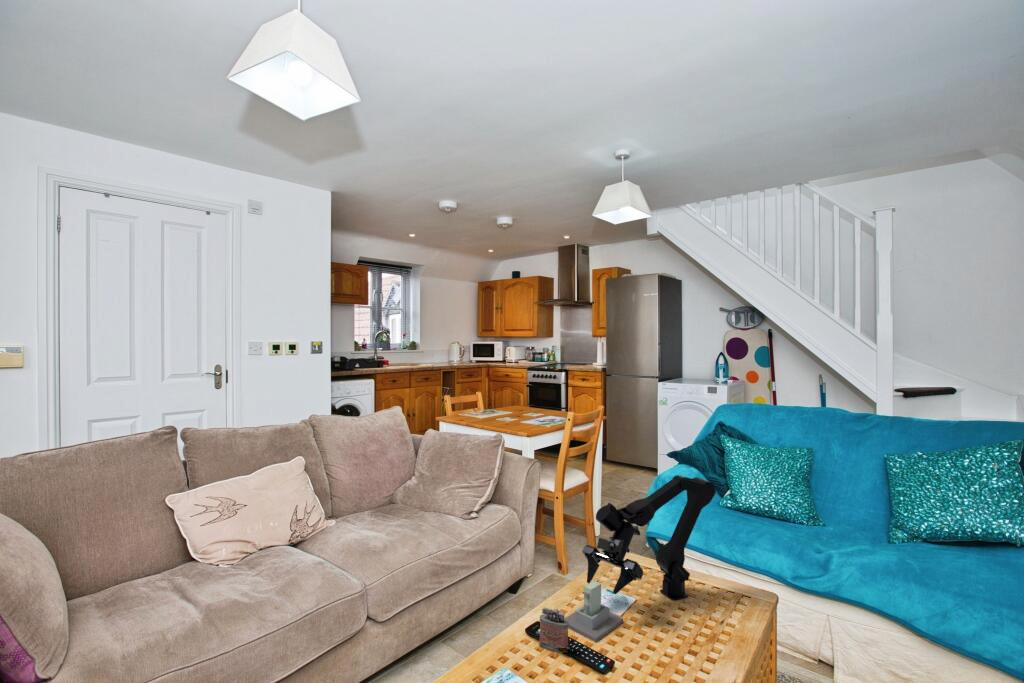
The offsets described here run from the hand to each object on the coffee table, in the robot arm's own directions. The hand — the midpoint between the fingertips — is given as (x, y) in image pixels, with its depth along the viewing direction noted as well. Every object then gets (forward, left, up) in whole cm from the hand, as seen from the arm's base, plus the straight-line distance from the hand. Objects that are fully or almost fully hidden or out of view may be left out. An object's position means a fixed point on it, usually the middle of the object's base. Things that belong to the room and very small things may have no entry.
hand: (600, 588), depth 146 cm
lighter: (+20, +7, -9) cm, 23 cm away
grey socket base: (+4, +1, -9) cm, 10 cm away
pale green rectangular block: (+4, +1, -8) cm, 9 cm away
